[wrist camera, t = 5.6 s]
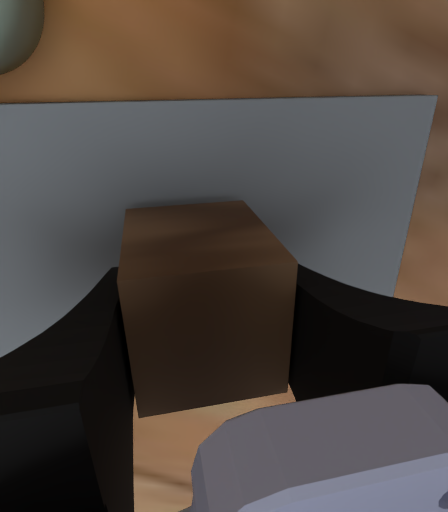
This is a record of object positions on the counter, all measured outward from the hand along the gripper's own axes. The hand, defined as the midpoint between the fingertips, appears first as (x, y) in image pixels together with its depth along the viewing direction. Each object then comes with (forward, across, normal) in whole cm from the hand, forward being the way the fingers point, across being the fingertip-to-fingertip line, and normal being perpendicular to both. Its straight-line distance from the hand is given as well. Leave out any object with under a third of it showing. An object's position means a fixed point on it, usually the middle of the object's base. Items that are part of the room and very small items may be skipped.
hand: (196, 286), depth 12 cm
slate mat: (+4, -1, 0) cm, 4 cm away
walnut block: (+2, 0, 0) cm, 2 cm away
